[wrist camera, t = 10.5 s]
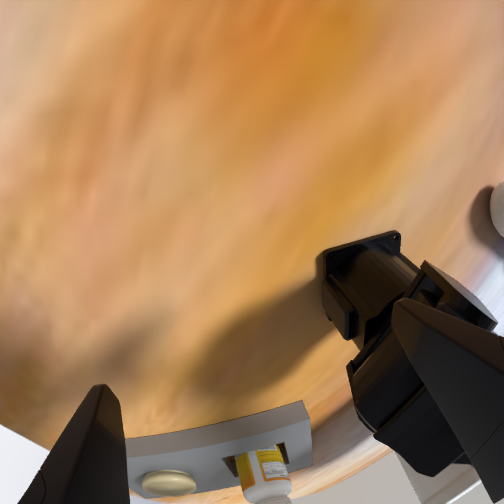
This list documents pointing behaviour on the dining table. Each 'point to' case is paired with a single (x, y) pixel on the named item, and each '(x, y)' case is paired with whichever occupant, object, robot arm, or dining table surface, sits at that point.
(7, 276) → the dining table surface
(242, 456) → the supplement bottle
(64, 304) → the dining table surface
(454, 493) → the utensil holder
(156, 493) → the plate
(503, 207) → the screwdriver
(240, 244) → the dining table surface
